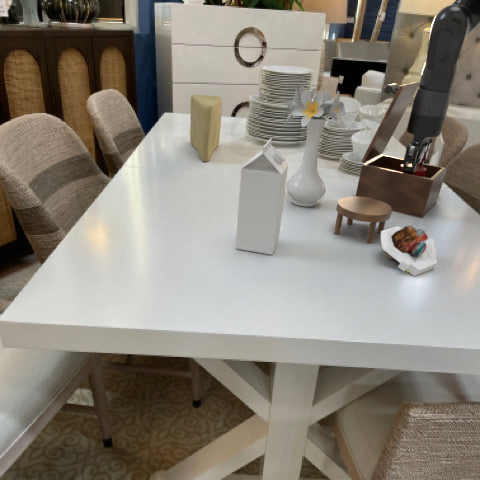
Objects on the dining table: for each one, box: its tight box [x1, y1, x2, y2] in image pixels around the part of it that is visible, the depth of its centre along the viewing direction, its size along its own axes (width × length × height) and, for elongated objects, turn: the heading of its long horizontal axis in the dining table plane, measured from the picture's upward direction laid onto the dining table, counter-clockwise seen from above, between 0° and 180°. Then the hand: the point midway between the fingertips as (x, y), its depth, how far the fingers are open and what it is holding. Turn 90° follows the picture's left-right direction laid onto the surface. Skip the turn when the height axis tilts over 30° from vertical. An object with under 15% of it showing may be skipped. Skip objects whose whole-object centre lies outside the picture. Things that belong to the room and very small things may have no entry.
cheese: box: [189, 94, 223, 163], centre depth 141 cm, size 22×10×15 cm, turn 4°
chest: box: [355, 153, 448, 219], centre depth 116 cm, size 17×14×9 cm
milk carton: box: [235, 138, 289, 256], centre depth 85 cm, size 7×7×19 cm
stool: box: [333, 195, 393, 245], centre depth 98 cm, size 11×11×6 cm
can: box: [399, 164, 426, 177], centre depth 114 cm, size 6×6×7 cm
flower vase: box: [284, 86, 346, 208], centre depth 107 cm, size 13×18×25 cm
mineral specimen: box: [380, 224, 438, 277], centre depth 88 cm, size 12×12×7 cm
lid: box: [361, 81, 420, 164], centre depth 112 cm, size 18×14×5 cm
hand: (408, 185), depth 115 cm, fingers closed on can, 6 cm apart
